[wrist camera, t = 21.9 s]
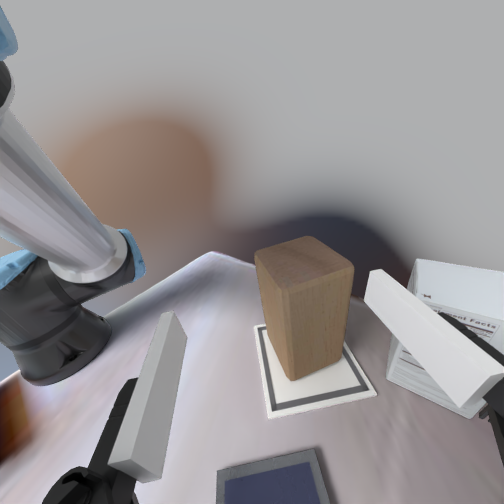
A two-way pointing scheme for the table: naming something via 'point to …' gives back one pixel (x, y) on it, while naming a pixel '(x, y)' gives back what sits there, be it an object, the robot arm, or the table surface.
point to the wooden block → (304, 303)
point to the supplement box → (459, 307)
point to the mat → (309, 382)
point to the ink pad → (274, 481)
